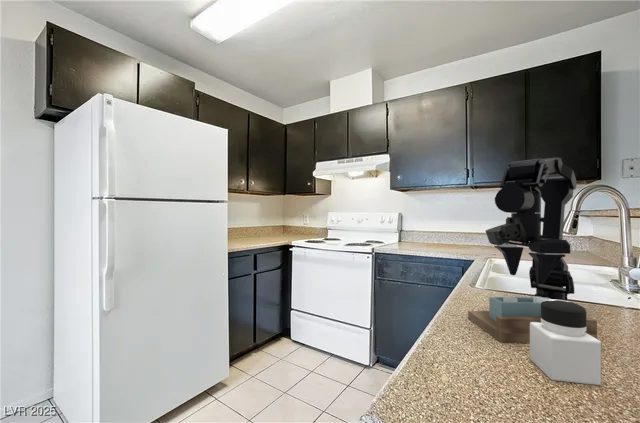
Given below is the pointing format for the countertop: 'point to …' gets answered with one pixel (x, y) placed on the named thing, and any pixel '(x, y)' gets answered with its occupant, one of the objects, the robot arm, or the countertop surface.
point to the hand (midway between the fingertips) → (525, 279)
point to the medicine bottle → (565, 344)
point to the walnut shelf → (515, 326)
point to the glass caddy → (515, 306)
